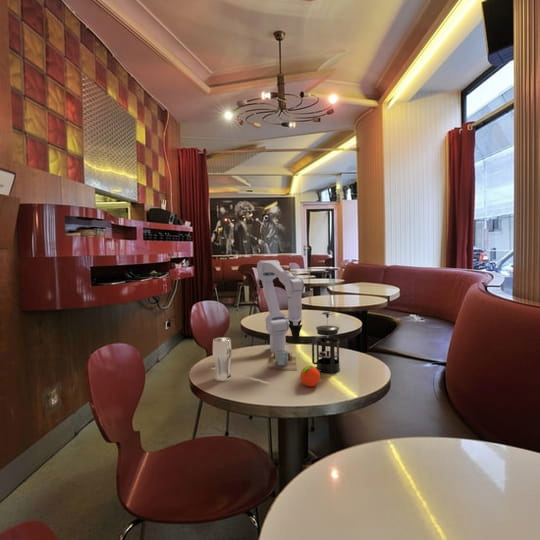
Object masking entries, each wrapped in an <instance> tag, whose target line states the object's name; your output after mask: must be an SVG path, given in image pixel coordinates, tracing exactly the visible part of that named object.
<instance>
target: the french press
mask: <svg viewBox="0 0 540 540" xmlns="http://www.w3.org/2000/svg"><path fill="white" fill-rule="evenodd" d="M321 314H322V315H325V316H326V325H319V326H316V328H315V329H316V330H317V331H316V332H317V334H318V335H320V336H323V337H318V338H317V339H316V340H315V341H312V342H311V363H312V364H313V365H316V369H317V370H318V371H319V373H321V374H328V375H330V374H337V373H339V372H340V371H341V367H340V339H339V338H336V337H333V336H337V335H338V333H339V330H340V327H339V326H336V325H329V315H333V314H334V313H333V312H331V311H324V312H322V313H321ZM326 341H327V342H326ZM330 341H331V342H330ZM315 344H316V361H315ZM320 346H321V351H319V347H320ZM335 346H336V351H335ZM326 349H327V350H326Z"/></svg>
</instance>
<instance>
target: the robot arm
mask: <svg viewBox="0 0 540 540" xmlns="http://www.w3.org/2000/svg"><path fill="white" fill-rule="evenodd" d="M256 264H257V265H256V272H257V275H258V278H259V280H261V284H262V288H263V293H264V296H265V301H266V304H267V308H268V315H267V316H266V318H265V319H264V321H265V329H266V330H265V331H266V332H267V333H268V334H269V347H270V348H269V349H270V350H269V351H270V352H271V353H275V352H276V351H279V350H285V351H287V349H286V348H287V347H286V342H287V341H286V334H287V332H288V331H289V330H290V333H291V337H292V341H293V342H299V339H300V332H301V330H302V328H303V324H301V323H302V320H303V312H302V311H303V307H302V304H303V302H302V293H303V291H304V289H305V284H304V283H305V282H304V280H303V279H302V277H299V278H298V277H296V276H294V275H293V274H292V273H291V272H290V270H284V269H283V268H282V266H281V263H280V261H279V260H278V259H269V260H268V259H267V260H261V259H260V260H258V261H257V263H256ZM277 277H278V280H279V282H280V283H282V285H283V286H284V287H285V291H286V297H287V302H288V303H287V308H288V309H287V310H288V311H287V314H288V315H286V314H285V313H283V312H282V311H281V310H280V305H279V302H278V298H277V294H276V290H275V286H274V282H273V281H274V280H275V279H277Z"/></svg>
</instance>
